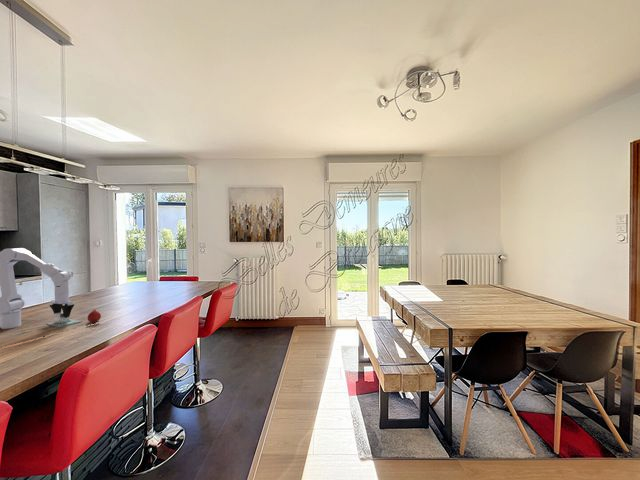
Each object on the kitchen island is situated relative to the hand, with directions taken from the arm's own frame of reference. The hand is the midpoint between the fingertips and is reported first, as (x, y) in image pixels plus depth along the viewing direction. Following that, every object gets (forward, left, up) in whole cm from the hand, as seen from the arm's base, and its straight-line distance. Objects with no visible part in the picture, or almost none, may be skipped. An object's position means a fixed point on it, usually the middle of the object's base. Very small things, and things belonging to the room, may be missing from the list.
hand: (62, 316), depth 153 cm
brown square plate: (-3, -10, -4) cm, 12 cm away
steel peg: (0, 0, -5) cm, 5 cm away
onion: (+15, +8, -5) cm, 18 cm away
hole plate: (+2, 0, -4) cm, 5 cm away
